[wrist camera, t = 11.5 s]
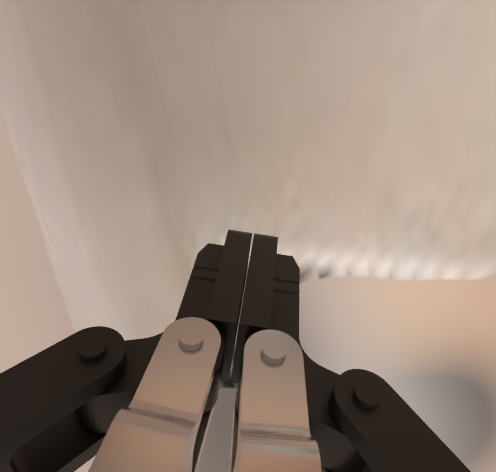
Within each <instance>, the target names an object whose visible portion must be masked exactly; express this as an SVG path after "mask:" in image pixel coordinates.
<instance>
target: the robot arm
mask: <svg viewBox="0 0 496 472" xmlns="http://www.w3.org/2000/svg"><path fill="white" fill-rule="evenodd" d="M251 238H252V233H247V232H241V231H234V230H228V233H227V237H226V241H225V245H224V246H222V245H216V244H207V245H206V246H205V247H204V248H203V249H202V250H201V251H200V252H199V253H198V255H197V258H196V261H195V264H194V268H193V270H192V273H191V276H190V279H189V282H188V285H187V288H186V291H185V294H184V297H183V300H182V303H181V306H180V309H179V312H178V315H177V317H176V320H175V321H174V322H173V323H171V324H170V325H169V326H168V327H167V328H166V329H165V331H164V332H162V333H161V334H158V335H156V336H153V337H150V338H144V339H136V340H127V341H124V339H123V337H122V336H121V334H119V333H118V332H117V331H115V330H114V329H111V328H108V327H100V326H98V327H90V328H86V329H83V330H81V331H78V332H76V333H75V334H73V335H71V336H69V337H67V338H65V339H64V340H62V341H60V342H58V343H56V344H54V345H53V346H51V347H49V348H47V349H45V350H43V351H41V352H39V353H38V354H36V355H34V356H32V357H30V358H28V359H26V360H25V361H23V362H21V363H19V364H17V365H15V366H14V367H12V368H10V369H8V370H6V371H4V372H3V373H0V472H74V471H75V470H77V469H78V468H79V467H81V466H82V465H83V464H85V463H86V462H87V461H89V460H90V459H91V458H93V457H94V456H95V455H96V457H95V459H94V461H93V463H92V465H91V467H90V469H89V471H88V472H196V471H197V467H198V464H199V460H200V456H201V453H202V449H203V445H204V441H205V438H206V435H207V431H208V427H209V423H210V420H211V416H212V413H213V408H214V405H215V403H216V400H217V397H218V391H219V386H220V381H226V382H228V380H229V374H230V368H231V362H232V357H233V351H234V345H235V339H236V333H237V327H238V321H239V315H240V309H241V303H242V297H243V291H244V285H245V279H246V272H247V266H248V259H249V252H250V245H251ZM277 242H278V237H274V236H267V235H261V234H255V233H254V238H253V244H252V250H251V256H250V262H249V268H248V274H247V280H246V286H245V292H244V298H243V304H242V310H241V316H240V322H239V329H238V336H237V343H236V350H235V356H234V363H233V370H232V377H231V382H233V383H238V387H237V394H236V402H235V407H234V414H233V428H232V444H231V458H230V472H471V471H470V470H469V469H468V468H467V467H466V466H465V465H464V464H463V463H462V462H461V461H460V460H459V459H458V458H457V457H456V456H455V454H454V453H453V452H452V451H451V450H450V449H449V448H448V447H447V446H446V445H445V444H444V443H443V442H442V441H441V440H440V439H439V438H438V436H437V435H436V434H435V433H434V432H433V431H432V430H431V429H430V428H429V427H428V426H427V425H426V424H425V423H424V422H423V420H422V419H421V418H420V417H419V416H418V415H417V414H416V413H415V412H414V411H413V410H412V409H411V408H410V407H409V406H408V405H407V403H406V402H405V401H404V400H403V399H402V398H401V397H400V396H399V395H398V394H397V393H396V392H395V391H394V390H393V389H392V387H390V385H389V384H388V383H387V382H385V380H384V379H382V378H381V377H379V376H378V375H376V374H374V373H372V372H370V371H366V370H361V369H352V370H348V371H345V372H344V373H342V374H341V375H339V374H337V373H334V372H332V371H330V370H328V369H326V368H324V367H322V366H319V365H318V364H317V363H315V362H314V361H312V360H311V359H310V358H309V357H308V356H307V355H306V353H305V352H304V350H303V349H302V347H301V345H300V341H299V272H300V269H299V267H298V265H297V263H296V262H295V260H294V258H293V256H287V255H280V254H277Z"/></svg>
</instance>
